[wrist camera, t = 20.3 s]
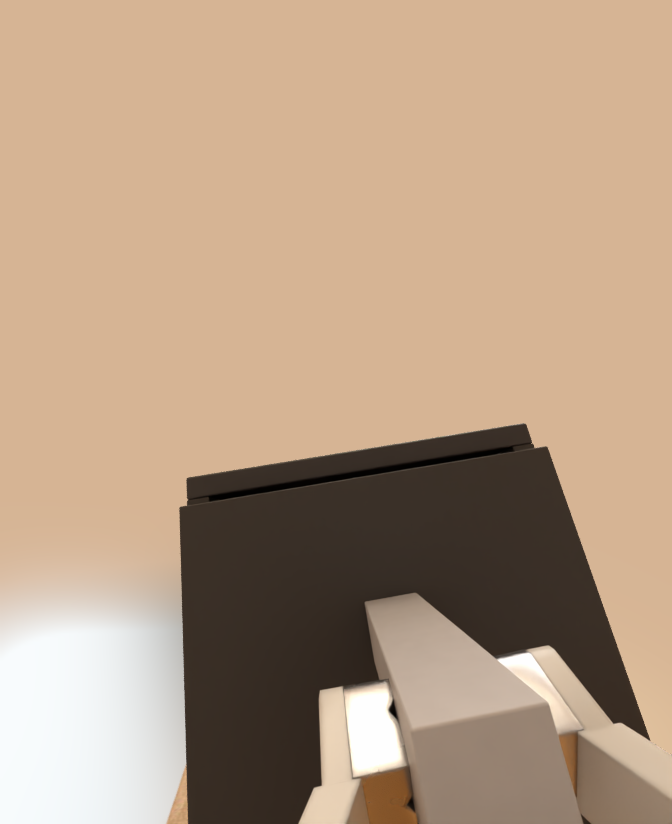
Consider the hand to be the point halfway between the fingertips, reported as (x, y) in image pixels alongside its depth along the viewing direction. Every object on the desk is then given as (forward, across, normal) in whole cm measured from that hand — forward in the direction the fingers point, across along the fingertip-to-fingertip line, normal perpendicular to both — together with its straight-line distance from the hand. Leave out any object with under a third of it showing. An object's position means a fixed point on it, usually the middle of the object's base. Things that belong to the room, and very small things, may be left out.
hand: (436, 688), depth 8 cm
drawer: (+3, 0, -9) cm, 9 cm away
